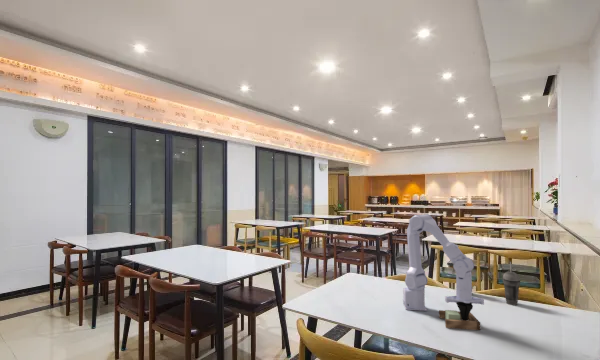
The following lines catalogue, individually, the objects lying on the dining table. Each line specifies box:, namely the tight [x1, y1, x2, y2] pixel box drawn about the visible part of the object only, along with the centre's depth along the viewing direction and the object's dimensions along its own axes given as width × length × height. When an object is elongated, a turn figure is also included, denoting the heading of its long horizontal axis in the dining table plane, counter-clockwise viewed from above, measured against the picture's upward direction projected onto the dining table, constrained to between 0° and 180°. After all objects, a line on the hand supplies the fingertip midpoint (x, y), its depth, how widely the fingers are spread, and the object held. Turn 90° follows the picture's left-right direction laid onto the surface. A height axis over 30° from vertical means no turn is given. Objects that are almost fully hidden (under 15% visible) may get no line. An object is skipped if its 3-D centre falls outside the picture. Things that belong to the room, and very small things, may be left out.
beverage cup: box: [502, 261, 521, 306], centre depth 152 cm, size 7×7×20 cm
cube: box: [444, 309, 460, 320], centre depth 130 cm, size 4×4×4 cm
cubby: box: [438, 309, 481, 331], centre depth 129 cm, size 13×10×3 cm
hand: (464, 320), depth 129 cm, fingers closed
